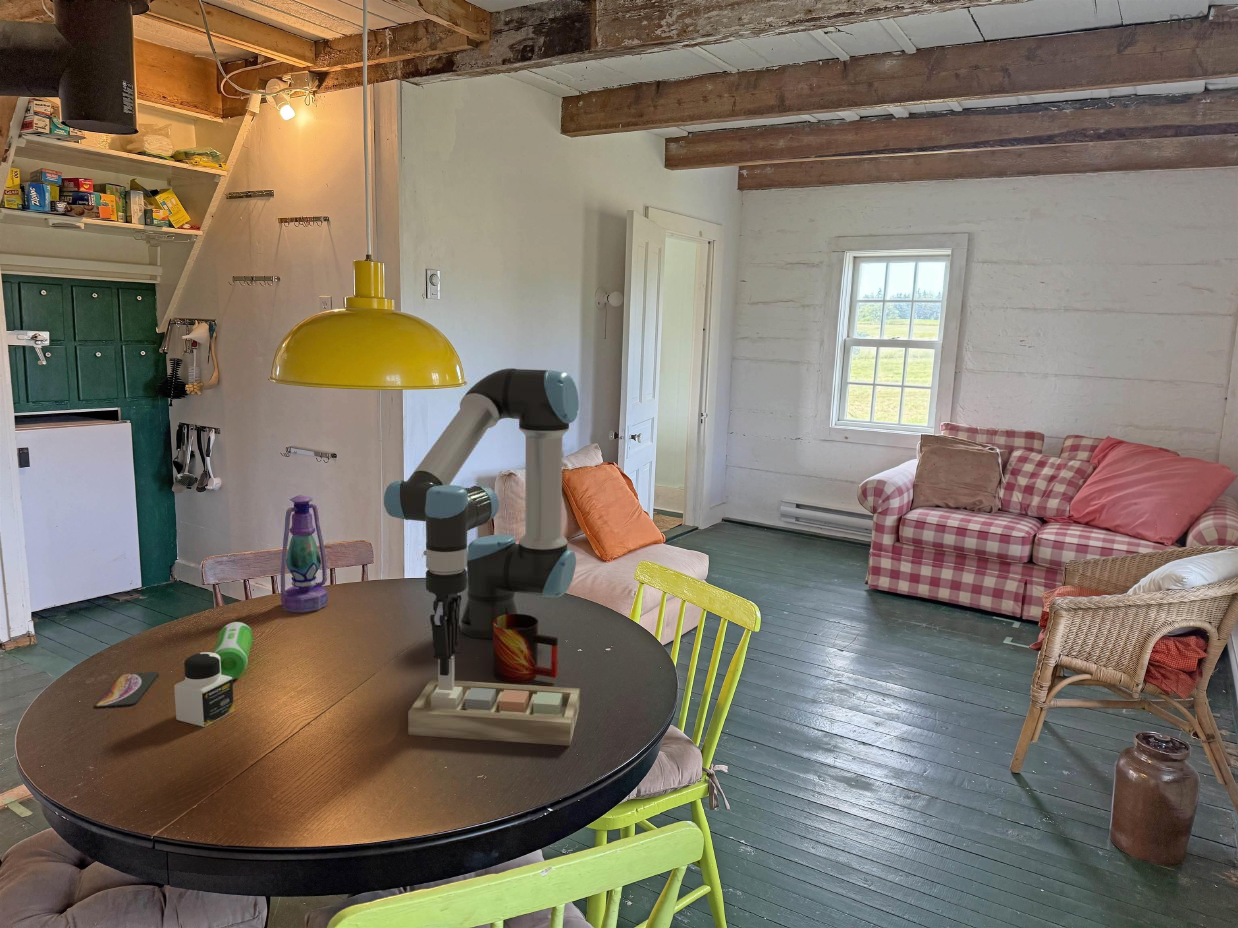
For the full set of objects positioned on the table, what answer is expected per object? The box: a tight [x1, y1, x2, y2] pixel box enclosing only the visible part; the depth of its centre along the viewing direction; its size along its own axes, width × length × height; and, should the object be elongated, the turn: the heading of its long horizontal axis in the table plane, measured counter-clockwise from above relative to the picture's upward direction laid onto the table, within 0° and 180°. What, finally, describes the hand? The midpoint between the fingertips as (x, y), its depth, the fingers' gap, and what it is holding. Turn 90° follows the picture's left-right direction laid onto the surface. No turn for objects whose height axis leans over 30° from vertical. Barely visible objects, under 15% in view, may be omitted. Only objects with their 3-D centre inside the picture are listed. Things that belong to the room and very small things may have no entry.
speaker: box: [212, 621, 254, 681], centre depth 176 cm, size 18×7×8 cm, turn 20°
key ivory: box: [431, 687, 463, 708], centre depth 155 cm, size 5×5×2 cm
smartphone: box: [93, 671, 160, 709], centre depth 163 cm, size 8×1×15 cm
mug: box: [492, 613, 559, 685], centre depth 176 cm, size 10×14×12 cm
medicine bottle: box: [174, 651, 235, 728], centre depth 153 cm, size 7×7×12 cm
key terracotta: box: [499, 690, 529, 713], centre depth 154 cm, size 5×5×2 cm
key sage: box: [533, 692, 562, 715], centre depth 154 cm, size 5×5×2 cm
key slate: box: [465, 688, 496, 710], centre depth 155 cm, size 5×5×2 cm
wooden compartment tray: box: [407, 678, 581, 747], centre depth 155 cm, size 14×30×4 cm, turn 86°
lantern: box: [280, 494, 329, 614], centre depth 210 cm, size 13×12×30 cm
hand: (446, 688), depth 155 cm, fingers closed
